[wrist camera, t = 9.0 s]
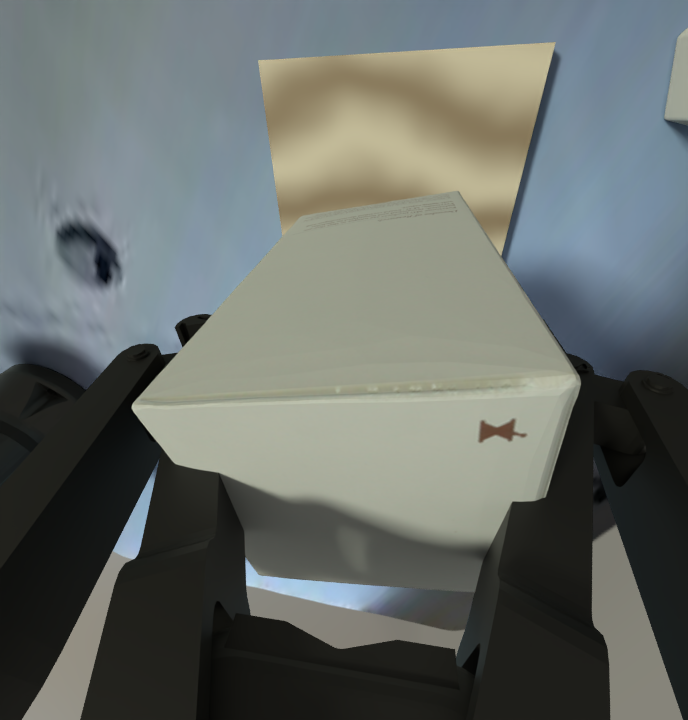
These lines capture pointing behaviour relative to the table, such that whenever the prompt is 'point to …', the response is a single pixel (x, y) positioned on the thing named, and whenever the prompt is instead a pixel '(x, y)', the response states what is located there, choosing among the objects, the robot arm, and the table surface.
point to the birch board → (404, 128)
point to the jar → (679, 83)
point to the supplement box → (371, 398)
